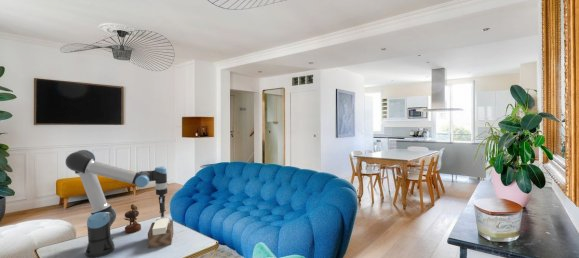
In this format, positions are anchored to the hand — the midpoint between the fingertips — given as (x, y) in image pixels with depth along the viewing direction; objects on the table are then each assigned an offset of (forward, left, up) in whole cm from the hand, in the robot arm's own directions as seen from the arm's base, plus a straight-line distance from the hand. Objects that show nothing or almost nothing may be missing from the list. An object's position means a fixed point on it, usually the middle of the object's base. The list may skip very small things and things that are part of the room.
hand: (162, 220), depth 199 cm
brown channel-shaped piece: (0, -12, -9) cm, 15 cm away
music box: (-23, +15, -10) cm, 29 cm away
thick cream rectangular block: (0, -12, -1) cm, 12 cm away
